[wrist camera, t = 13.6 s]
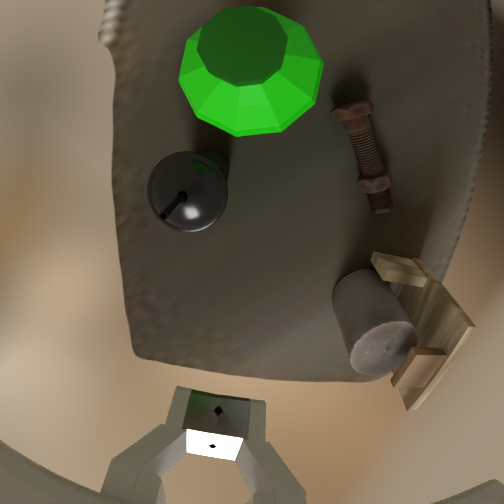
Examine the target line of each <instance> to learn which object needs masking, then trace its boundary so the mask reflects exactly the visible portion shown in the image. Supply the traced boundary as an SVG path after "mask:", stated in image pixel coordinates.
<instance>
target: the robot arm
mask: <svg viewBox="0 0 504 504" xmlns="http://www.w3.org/2000/svg"><path fill="white" fill-rule="evenodd" d="M265 413H266V403H265V401H261V400H253V399H249V398H240V397H233V396H226V395H218V394H212V393H208V392H203V391H198V390H193V389H189V388H184V387H180V386H177V387H176V389H175V392H174V395H173V399H172V402H171V406H170V409H169V412H168V416H167V420H166V424H165V425H164V424H160V425H159V426H157V427H156V428H155V429H153V430H152V431H151V432H149V433H148V434H147V435H145V436H144V437H143V438H141V439H140V440H138V441H137V442H136V443H134V444H133V445H131V446H130V447H129V448H127V449H126V450H124V451H123V452H122V453H120V454H119V455H117V456H116V457H114V458H113V459H112V460H111V463H110V466H109V468H108V471H107V474H106V477H105V480H104V483H103V486H102V489H101V492H100V493H99V492H96V491H94V490H91V489H89V488H87V487H84V486H82V485H79V484H77V483H75V482H73V481H71V480H69V479H67V478H64V477H62V476H60V475H58V474H56V473H54V472H52V471H50V470H49V469H47V468H45V467H43V466H41V465H39V464H37V463H36V462H34V461H32V460H31V459H29V458H27V457H26V456H24V455H22V454H21V453H19V452H18V451H16V450H14V449H13V448H11V447H10V446H8V445H7V444H5V443H4V442H2V441H1V440H0V504H165V499H166V496H165V492H164V488H163V484H162V480H161V477H162V476H163V475H164V474H165V473H166V472H167V471H168V470H169V469H171V468H172V467H173V466H174V465H175V464H176V463H177V462H178V461H179V460H180V459H181V458H182V457H183V456H184V455H185V454H186V452H188V453H194V454H199V455H206V456H212V457H218V458H224V459H230V460H235V463H236V465H237V467H238V468H239V470H240V472H241V474H242V476H243V478H244V479H245V481H246V483H247V485H248V486H249V488H250V490H251V492H252V493H253V496H252V497H251V498H250V499H249V501H248V502H247V503H246V504H306V491H305V490H304V488H303V487H302V486H301V485H300V483H299V482H298V481H297V479H296V478H295V477H294V475H292V473H291V471H290V470H289V469H288V467H287V466H286V465H285V463H284V462H283V461H282V459H281V458H280V456H279V455H278V454H277V452H276V451H275V449H274V448H273V447H272V445H271V444H270V442H265V418H266V414H265ZM431 504H504V485H503V484H502V483H501V482H499V481H498V480H489V481H487V482H485V483H482V484H480V485H478V486H476V487H474V488H471V489H469V490H467V491H464V492H462V493H459V494H457V495H454V496H451V497H449V498H446V499H443V500H440V501H437V502H435V503H431Z"/></svg>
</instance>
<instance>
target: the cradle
mask: <svg viewBox="0 0 504 504" xmlns="http://www.w3.org/2000/svg"><path fill="white" fill-rule="evenodd" d="M370 261H371V262H372V264H373V265H374V267H375V269H376V270H377V272H378V273H379V275H380V276H381V278H382V280H384V281H389V282H395V283H401V285H400V288H399V290H398V292H397V294H396V298H397V300H398V301H399V303H400V304H401V306H402V308H403V309H404V311H405V312H406V314H407V316H408V317H409V319H410V321H411V322H412V324H413V326H414V327H415V329H416V331H417V335H418V343H417V346H416V347H411V349H410V351H409V352H408V354H407V355H406V357H405V359H404V360H403V362H402V363H401V365H400V366H399V367H398V368H396V369H394V370H392V372H393V377H392V378H391V383H392V385H393V388H399V390H400V393H401V396H402V399H403V401H404V404H405V407H406V410H407V411H415V410H416V409H417V408H418V407H419V405H420V404H421V403H422V402H423V401H424V399H425V398H426V397H427V396H428V395H429V393H430V392H431V391H432V390H433V388H434V387H435V386H436V385H437V383H438V382H439V381H440V379H441V378H442V377H443V375H444V374H445V372H446V371H447V370H448V369H449V367H450V366H451V364H452V363H453V362H454V360H455V358H456V357H457V356H458V354H459V353H460V351H461V350H462V348H463V347H464V345H465V344H466V342H467V341H468V339H469V338H470V336H471V334H472V333H473V331H474V329H475V328H476V326H475V325H474V324H473V322H472V321H471V320H470V318H469V317H468V316H467V314H466V313H465V312H464V311H463V309H462V308H461V307H460V306H459V304H458V303H457V302H456V301H455V299H454V298H453V297H452V296H451V295H450V293H449V292H448V291H447V290H446V288H445V287H444V286H443V285H442V284H441V283H440V281H439V280H438V279H437V278H436V277H435V276H434V274H433V273H432V272H431V271H430V270H429V269H428V268H427V267H426V265H425V264H424V263H423V262H422V261H421V260H420V259H419V258H414V257H412V259H408V258H403V257H399V256H394V255H389V254H385V253H380V252H375V251H374V252H373V254H372V257H371V260H370Z"/></svg>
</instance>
